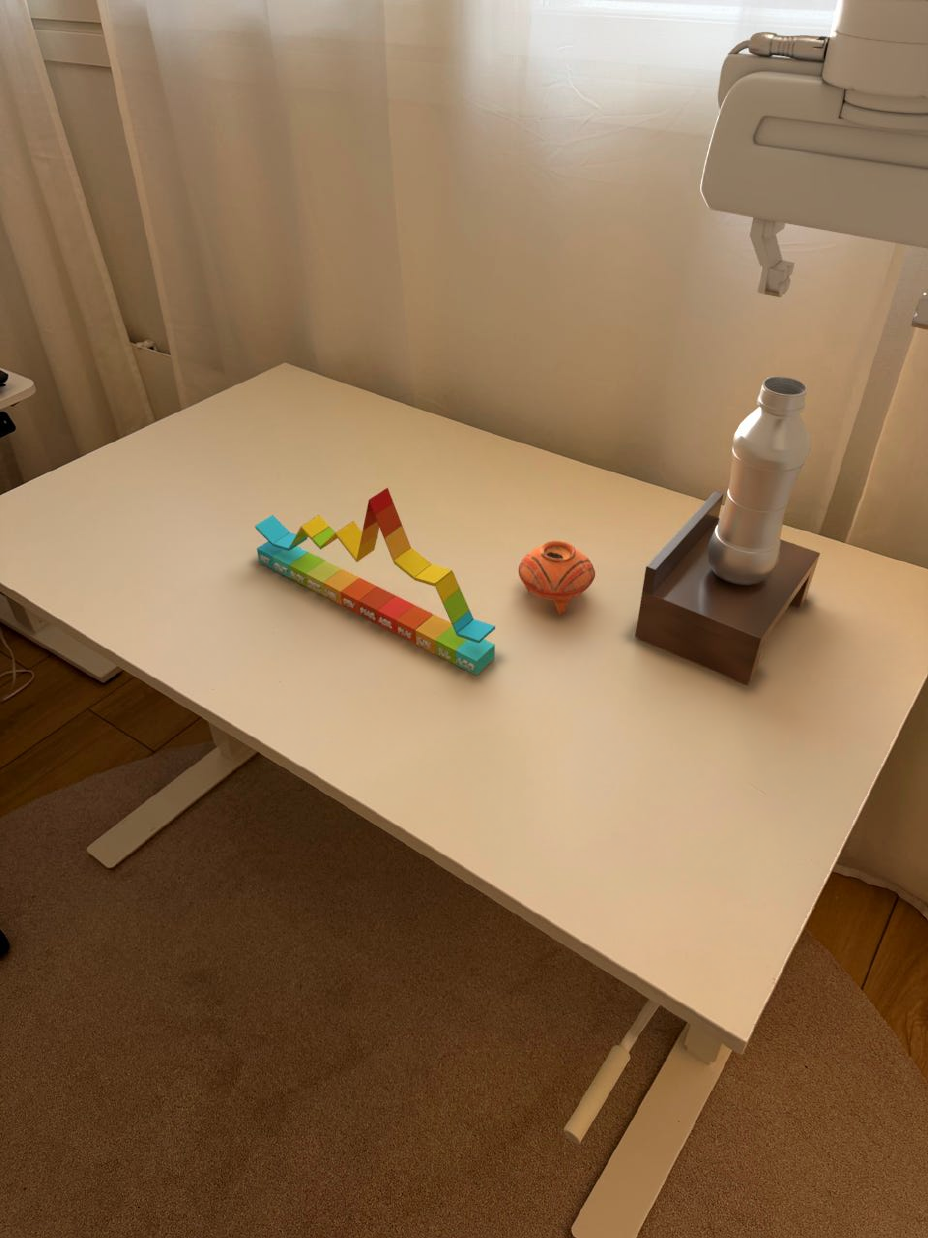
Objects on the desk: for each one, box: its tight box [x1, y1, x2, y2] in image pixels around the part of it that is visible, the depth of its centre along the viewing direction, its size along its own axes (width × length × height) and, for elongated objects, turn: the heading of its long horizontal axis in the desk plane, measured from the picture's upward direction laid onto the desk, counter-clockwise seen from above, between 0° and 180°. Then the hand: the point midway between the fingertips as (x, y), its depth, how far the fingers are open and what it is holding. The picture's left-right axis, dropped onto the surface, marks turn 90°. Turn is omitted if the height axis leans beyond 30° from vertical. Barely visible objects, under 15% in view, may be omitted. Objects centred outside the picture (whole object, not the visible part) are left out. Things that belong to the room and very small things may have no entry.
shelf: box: [634, 491, 821, 686], centre depth 90 cm, size 12×16×9 cm
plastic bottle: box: [708, 376, 811, 585], centre depth 82 cm, size 6×7×20 cm
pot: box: [518, 540, 596, 615], centre depth 93 cm, size 8×8×7 cm
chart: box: [254, 487, 496, 676], centre depth 89 cm, size 30×3×15 cm, turn 53°
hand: (846, 308), depth 55 cm, fingers open, 8 cm apart
